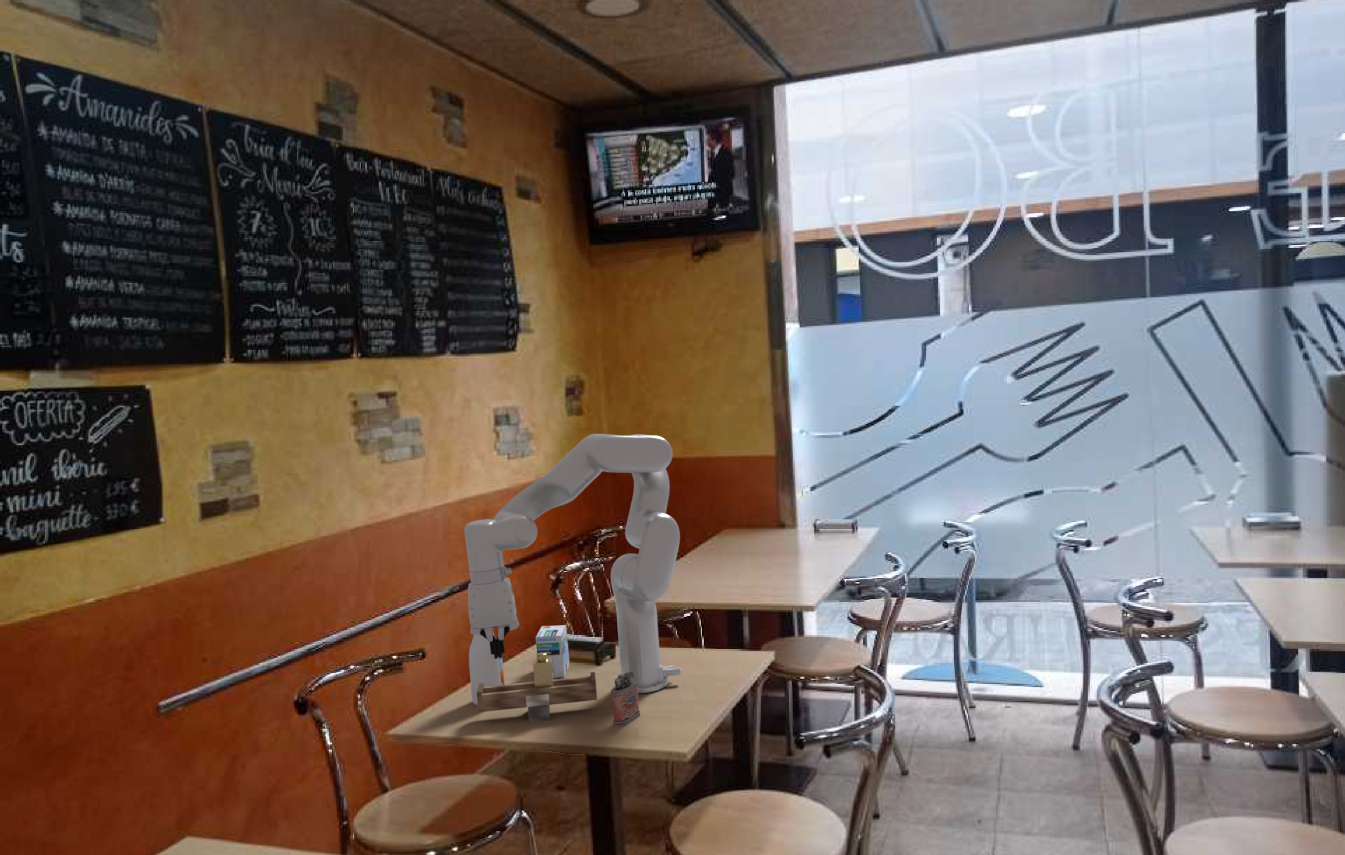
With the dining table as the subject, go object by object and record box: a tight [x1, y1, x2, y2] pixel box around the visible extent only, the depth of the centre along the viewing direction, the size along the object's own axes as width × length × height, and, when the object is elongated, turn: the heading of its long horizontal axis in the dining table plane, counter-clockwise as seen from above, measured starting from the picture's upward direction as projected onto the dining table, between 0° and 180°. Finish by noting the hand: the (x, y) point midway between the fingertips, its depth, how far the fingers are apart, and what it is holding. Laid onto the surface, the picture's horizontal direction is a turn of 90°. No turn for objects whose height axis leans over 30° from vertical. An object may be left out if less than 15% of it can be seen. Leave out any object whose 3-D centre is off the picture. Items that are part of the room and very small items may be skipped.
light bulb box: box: [535, 624, 570, 679], centre depth 253 cm, size 11×7×11 cm, turn 179°
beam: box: [477, 671, 598, 723], centre depth 222 cm, size 26×8×8 cm, turn 96°
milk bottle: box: [468, 632, 506, 707], centre depth 234 cm, size 8×8×20 cm
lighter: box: [610, 671, 641, 727], centre depth 215 cm, size 8×3×10 cm, turn 148°
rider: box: [532, 652, 554, 688], centre depth 222 cm, size 4×3×8 cm
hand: (498, 656), depth 221 cm, fingers closed
